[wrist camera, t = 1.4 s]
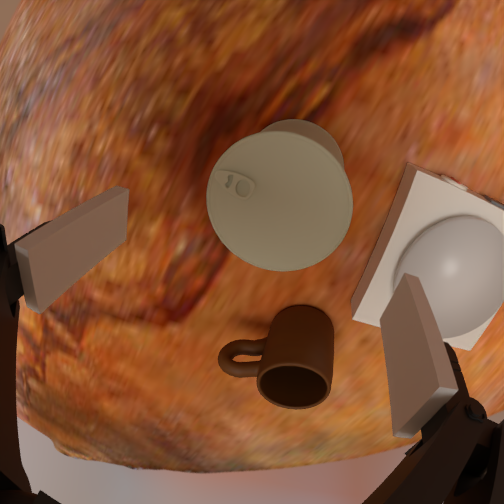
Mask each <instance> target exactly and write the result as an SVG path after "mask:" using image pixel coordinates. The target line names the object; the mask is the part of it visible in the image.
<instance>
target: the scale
mask: <svg viewBox="0 0 504 504" xmlns="http://www.w3.org/2000/svg"><path fill="white" fill-rule="evenodd" d="M404 273H407V274H410V275H413V276H416V277H419V280H420V282H421V284H422V287H423V289H424V292H425V294H426V297H427V299H428V302H429V304H430V307H431V309H432V312H433V315H434V317H435V320H436V323H437V325H438V328H439V331H440V334H441V336H442V339H443V341H444V342H447V343H449V345H450V346H452V347H456V348H460V349H464V350H468V351H470V350H471V349H472V347H473V346H474V345H475V343H476V342H477V340H478V339H479V338H480V336H481V335H482V333H483V332H484V330H485V329H486V328H487V326H488V325H489V323H490V322H491V320H492V319H493V317H494V316H495V314H496V312H497V311H498V309H499V308H500V306H501V305H502V303H503V301H504V205H503V204H501V203H500V202H498V201H496V200H494V199H492V198H490V197H488V196H486V195H485V197H484V196H482V195H480V194H478V193H476V192H474V191H472V190H470V189H468V187H467V186H465V185H463V184H462V183H460V182H459V181H457V180H456V179H454V178H453V177H451V178H450V177H448V176H446V175H443V174H442V175H441V176H439V175H437V174H435V173H433V172H430V171H428V170H426V169H423V168H421V167H418V166H416V165H413V164H411V163H409V162H408V163H407V166H406V168H405V171H404V174H403V177H402V180H401V182H400V185H399V188H398V191H397V193H396V196H395V199H394V201H393V204H392V206H391V209H390V212H389V214H388V217H387V219H386V222H385V224H384V227H383V229H382V231H381V234H380V236H379V239H378V241H377V243H376V246H375V248H374V250H373V253H372V255H371V257H370V260H369V262H368V264H367V266H366V269H365V271H364V273H363V275H362V278H361V280H360V282H359V284H358V286H357V288H356V290H355V293H354V295H353V297H352V299H351V308H352V320H356V321H359V322H363V323H366V324H370V325H374V326H377V327H381V326H380V318H381V316H382V314H383V312H384V311H385V309H386V307H387V305H388V303H389V301H390V299H391V298H392V296H393V294H394V292H395V290H396V288H397V286H398V284H399V282H400V280H401V278H402V276H403V274H404Z"/></svg>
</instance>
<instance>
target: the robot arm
mask: <svg viewBox="0 0 504 504" xmlns="http://www.w3.org/2000/svg"><path fill="white" fill-rule="evenodd" d="M128 198H129V189H127V188H123V187H119V186H115V187H113V188H111V189H109V190H107V191H105V192H103V193H101V194H99V195H97V196H95V197H93V198H92V199H90V200H88V201H86V202H84V203H82V204H80V205H79V206H77V207H75V208H73V209H71V210H70V211H68V212H66V213H64V214H63V215H61V216H59V217H57V218H56V219H54V220H51V221H48V222H45V223H43V224H41V225H39V226H38V227H36V228H35V229H33V230H31V231H29V233H26V234H25V235H23V236H21V237H20V238H18V239H17V240H15V241H13V242H12V243H10V244H9V245H7V242H6V235H5V228H4V226H3V225H2V224H0V504H61V503H59V502H57V501H56V500H54V499H53V498H51V497H50V496H48V495H47V494H45V493H44V492H42V491H39V493H38V495H37V494H34V493H32V491H31V487H30V483H29V480H28V477H27V475H26V473H25V470H24V468H23V466H22V462H21V456H20V448H19V438H18V427H17V411H16V348H17V332H18V320H19V310H20V305H19V300H18V299H19V298H20V297H21V296H23V295H24V297H25V301H26V305H27V307H28V308H30V309H31V310H33V311H35V312H37V313H38V314H41V313H42V312H43V311H44V310H45V309H46V308H48V307H49V306H50V305H51V304H52V303H53V302H54V301H55V300H56V299H57V298H58V297H60V296H61V295H62V294H63V293H64V292H65V291H66V290H67V289H69V288H70V287H71V286H72V285H73V284H74V283H75V282H77V281H78V280H79V279H80V278H81V277H82V276H83V275H85V274H86V273H87V272H88V271H89V270H90V269H92V268H93V267H94V266H95V265H96V264H98V263H99V262H100V261H101V260H102V259H104V258H105V257H106V256H107V255H108V254H110V253H111V252H112V251H113V250H114V249H116V248H117V247H118V246H119V245H121V244H122V243H123V242H124V241H126V233H127V213H128ZM380 326H381V333H382V339H383V346H384V353H385V360H386V368H387V376H388V385H389V395H390V405H391V416H392V429H393V436H395V437H403V438H412V437H413V436H414V435H415V434H416V433H417V432H418V431H419V430H421V433H422V439H421V440H419V441H418V442H417V443H416V444H415V445H414V446H413V447H412V448H410V449H409V450H408V451H407V452H406V453H405V454H406V457H405V458H404V459H403V460H402V461H401V463H400V464H399V465H398V466H397V467H396V468H395V469H394V471H393V472H392V473H391V474H390V475H389V476H388V477H387V478H386V479H385V480H384V482H383V483H382V484H381V485H380V486H379V487H378V488H377V489H376V490H375V491H374V492H373V493H372V494H371V495H370V496H369V497H368V498H367V499H366V500H365V501H364V502H363V503H362V504H442V503H443V504H504V420H503V421H502V422H501V423H500V424H497V423H495V422H493V421H491V420H489V419H487V415H486V411H485V409H484V407H483V406H482V405H481V404H480V403H479V402H478V401H477V400H475V399H474V398H471V397H469V393H468V390H467V387H466V383H465V380H464V377H463V374H462V372H461V368H460V365H459V364H458V359H457V356H456V353H455V352H454V350H453V349H452V347H451V346H450V345H449V343H447V342H444V341H443V339H442V336H441V334H440V331H439V328H438V325H437V323H436V320H435V317H434V315H433V312H432V309H431V307H430V304H429V302H428V299H427V297H426V294H425V292H424V289H423V287H422V284H421V282H420V280H419V277H416V276H413V275H410V274H407V273H404V274H403V276H402V278H401V280H400V282H399V284H398V286H397V288H396V290H395V292H394V294H393V296H392V298H391V299H390V301H389V303H388V305H387V307H386V309H385V311H384V312H383V314H382V316H381V318H380Z"/></svg>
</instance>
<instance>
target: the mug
mask: <svg viewBox="0 0 504 504" xmlns="http://www.w3.org/2000/svg"><path fill="white" fill-rule="evenodd" d="M237 355H250V356H260V355H262V358H261V360H260V361H252V362H235V361H233V360H232V359H233V358H234V357H235V356H237ZM333 360H334V329H333V326H332V323H331V321H330V319H329V318H328V317H327V316H326V315H325V314H324V313H323V312H321V311H320V310H318V309H315V308H313V307H309V306H294V307H290V308H287V309H285V310H283V311H281V312H280V313H279V314H278V315H277V316H276V317H275V318H274V320H273V322H272V324H271V326H270V330H269V333H268V337H266V338H264V339H259V340H255V341H254V340H235V341H232V342H230V343H228V344H227V345H225V346H224V347H223V348H222V349H221V351H220V352H219V356H218V363H219V366H220V367H221V369H222V370H223V371H224V372H225V373H227V374H229V375H231V376H234V377H239V378H242V377H257V388H258V390H259V392H260V394H261V395H262V396H263V397H264V398H265V399H266V400H267V401H269V402H271V403H272V404H274V405H277V406H280V407H283V408H288V409H306V408H311V407H314V406H316V405H318V404H320V403H322V402H323V401H324V400H325V399H326V398H327V397H328V395H329V393H330V390H331V383H332V377H333Z"/></svg>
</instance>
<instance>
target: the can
mask: <svg viewBox="0 0 504 504" xmlns="http://www.w3.org/2000/svg"><path fill="white" fill-rule="evenodd" d="M206 199H207V210H208V214H209V218H210V221H211V223H212V226H213V228H214V230H215V232H216V234H217V235H218V237H219V238H220V240H221V241H222V242H223V243H224V245H225V246H226V247H227V248H228V249H229V250H230V251H231V252H232V253H234V254H235V255H236V256H238V257H239V258H241V259H242V260H244V261H246V262H247V263H250V264H252V265H254V266H257V267H260V268H263V269H267V270H272V271H294V270H300V269H304V268H307V267H309V266H312V265H314V264H316V263H318V262H320V261H322V260H323V259H325V258H326V257H327V256H329V255H330V254H331V253H332V252H333V251H334V250H335V249H336V248H337V247H338V246H339V244H340V243H341V242H342V240H343V239H344V237H345V235H346V233H347V231H348V228H349V226H350V222H351V218H352V212H353V197H352V190H351V186H350V183H349V180H348V177H347V175H346V173H345V171H344V161H343V156H342V153H341V150H340V148H339V146H338V144H337V143H336V141H335V140H334V139H333V137H332V136H331V135H330V134H329V133H328V132H327V131H325V130H324V129H323V128H321V127H320V126H318V125H316V124H314V123H311V122H308V121H305V120H299V119H288V120H282V121H278V122H276V123H273V124H271V125H269V126H268V127H266V128H265V129H263V130H262V131H261V132H260V133H256V134H253V135H250V136H247V137H245V138H243V139H241V140H240V141H238V142H236V143H235V144H233V145H232V146H231V147H230V148H229V149H227V150H226V151H225V152H224V153H223V155H222V156H221V157H220V158H219V160H218V161H217V163H216V164H215V166H214V168H213V170H212V172H211V175H210V178H209V181H208V186H207V194H206Z"/></svg>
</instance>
